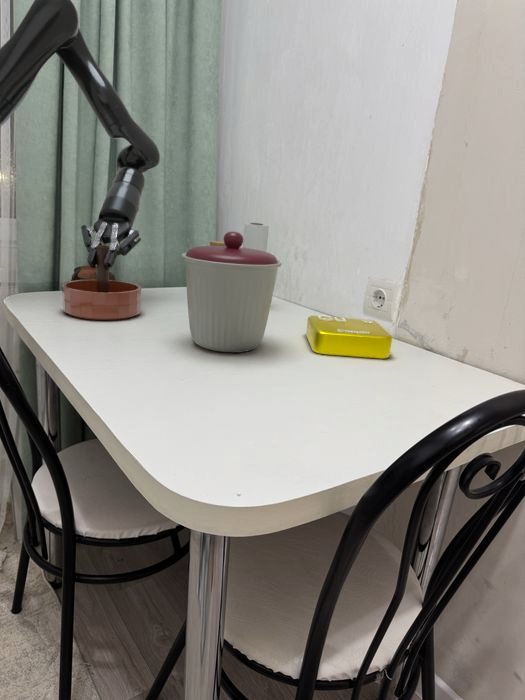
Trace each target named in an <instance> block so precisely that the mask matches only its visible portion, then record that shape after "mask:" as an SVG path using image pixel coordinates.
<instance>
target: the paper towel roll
mask: <svg viewBox="0 0 525 700" xmlns="http://www.w3.org/2000/svg"><path fill="white" fill-rule="evenodd" d="M269 228H270V226H269V225H268V224H264V223H258V222H249V223H248V222H245V223H244V228H243V243H242V248H249V249H255V250H260V251H264V252H267V249H268V239H269Z"/></svg>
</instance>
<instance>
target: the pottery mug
mask: <svg viewBox="0 0 525 700" xmlns="http://www.w3.org/2000/svg"><path fill="white" fill-rule="evenodd" d="M76 280H97V265H96V267H95V268H91V266H90V265H80V266H77V267H75V268H74V269H73V274H72V275H71V279H70V281H76ZM109 280H114V281H116V276H115V275H114V273H112V272H110V271H109Z"/></svg>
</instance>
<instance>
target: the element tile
mask: <svg viewBox="0 0 525 700" xmlns="http://www.w3.org/2000/svg"><path fill="white" fill-rule="evenodd" d="M306 322H307V323H306V332H305V336H306V339H307V340H308V343H309V345H310V348H311V350H312V351H313V352H314V353H316V354H319V355H327V356H340V357H353V358H365V359H366V358H367V359H382V360H383V359H384V360H385V359H388V358H389V357H390V353H391V347H392V341H393V335H391V334H390V333H389V332H388V331H387V330H386V329H385V328H384V327H383V326H382V325H380V324H379V323H378V322H377V321H376V320H373V319H364V318H363V319H361V318H350V317H349V318H348V317H336V316H330V315H322V314H320V315H310V316H308V317H307V321H306Z"/></svg>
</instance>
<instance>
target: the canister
mask: <svg viewBox="0 0 525 700" xmlns="http://www.w3.org/2000/svg"><path fill="white" fill-rule="evenodd" d="M243 241H244V235H242V234H241V233H240V232H238V231H227V232H226V233H225V234H224V235H223V242H224V243H225V245H226V246H210V245H201V246H194V247H191V248H189V249H188V250H187V251H185V252H183V253H181V255H180V256H181V258H182V259H183V260H184V266H185V267H184V269H185V282H186V283H185V284H186V286H185V287H186V299H187V313H188V324H189V332H190V335H191V338H192V340H193V341H194V342H195V344H196V345H198V346H199V347H201V348H204V349H207V350H209V351H214V352H221V353H242V352H243V353H244V352H249V351H252V350H254V349H256V348H257V347H258V346H259V345H260V344H261V343H262V341H263V339H264V336H265V332H266V329H267V328H266V327H267V325H268V319H269V315H270V311H271V310H270V309H271V306H272V301H273V295H274V291H275V285H276V281H277V276H278V269H279V268H280V267H281V266H282V265H283V262H282V261H281V260H280V259H278V258H277V257H276V256H275V255H274V254H273V253H270V252H267V251H266V252H264V251H260V250H255V249H249V248H243V247H241V246H243Z"/></svg>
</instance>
